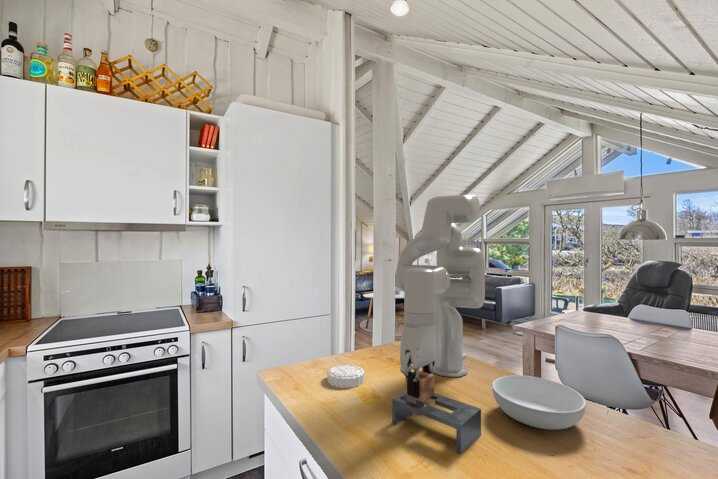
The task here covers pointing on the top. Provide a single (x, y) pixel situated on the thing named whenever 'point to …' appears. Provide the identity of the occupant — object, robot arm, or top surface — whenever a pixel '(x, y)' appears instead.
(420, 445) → the top surface
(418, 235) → the robot arm
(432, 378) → the keyhole peg
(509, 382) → the serving bowl
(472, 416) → the keyhole bracket
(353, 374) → the mooncake
